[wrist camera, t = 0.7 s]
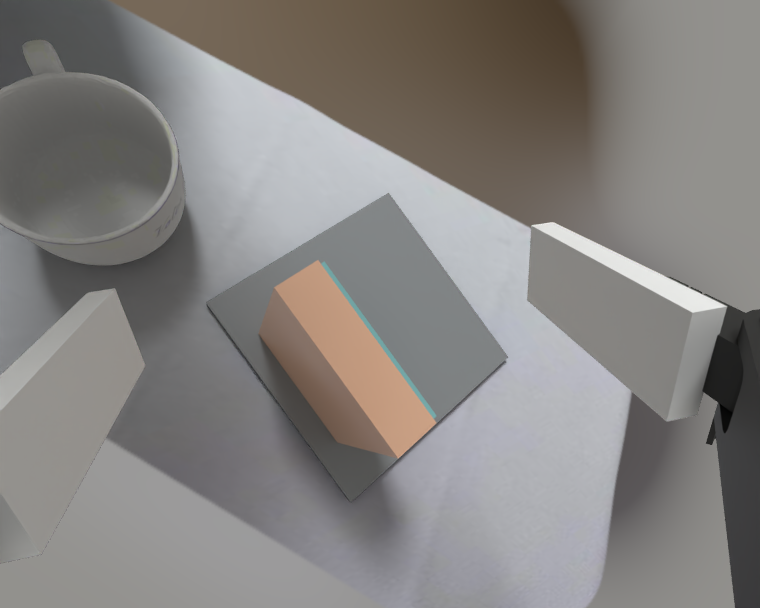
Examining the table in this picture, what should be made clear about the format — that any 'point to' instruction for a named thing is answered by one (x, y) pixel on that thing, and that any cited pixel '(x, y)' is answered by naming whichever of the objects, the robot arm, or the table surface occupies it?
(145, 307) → the table surface
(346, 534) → the table surface
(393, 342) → the mat
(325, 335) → the tile
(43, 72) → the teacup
